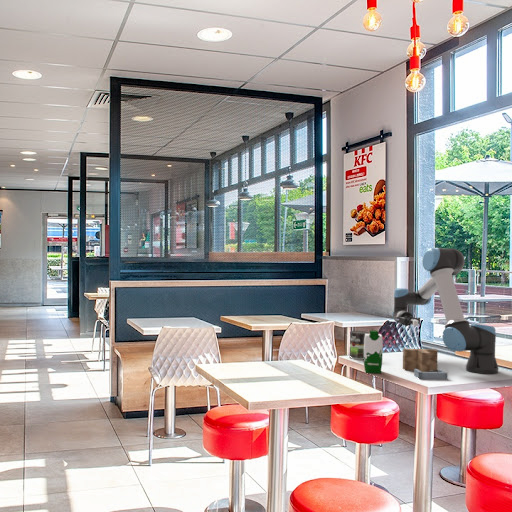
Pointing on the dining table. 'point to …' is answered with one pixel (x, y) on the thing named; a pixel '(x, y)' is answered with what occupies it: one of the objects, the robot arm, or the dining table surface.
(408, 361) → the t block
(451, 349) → the robot arm
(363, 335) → the coffee can
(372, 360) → the milk carton
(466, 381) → the dining table surface
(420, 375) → the tray
